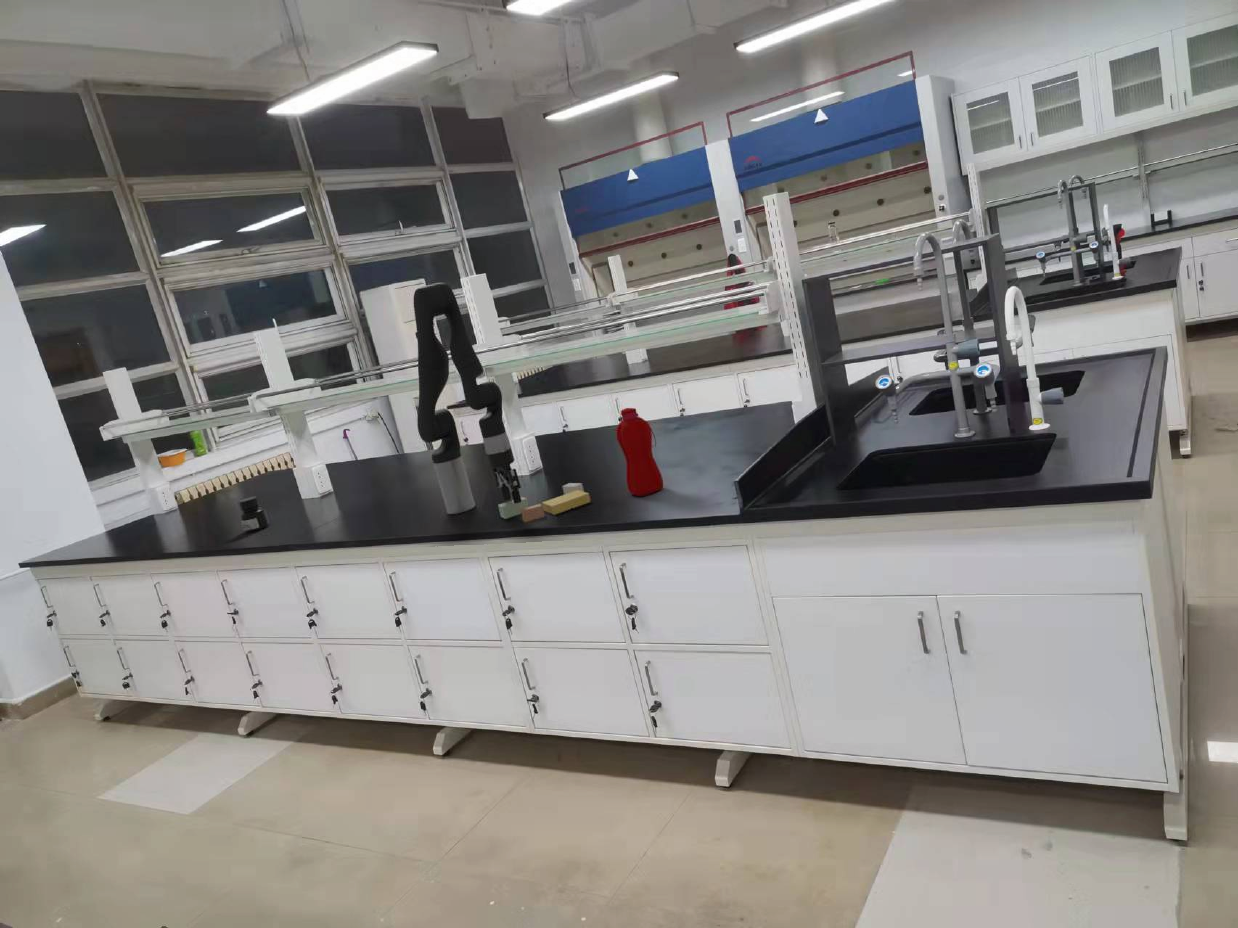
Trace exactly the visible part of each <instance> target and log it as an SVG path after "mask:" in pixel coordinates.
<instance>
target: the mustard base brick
mask: <svg viewBox="0 0 1238 928" xmlns="http://www.w3.org/2000/svg"><path fill="white" fill-rule="evenodd" d="M588 503H591V496H590V494H589V492H585V491H584V492H582V491H579V490H577V491H574V492H571V493H568V494H565V495H564V494H563V495H560V496H556V497H555V498H551V499H548V500H546V501H541V505H542V508H543V512H546V513H548V514H551V515H553V516H555V515H557V514H560V513H563V512H566V511H568V510H571V508H572V509H574V508H577V507H580V506H582V505H586V504H588Z"/></svg>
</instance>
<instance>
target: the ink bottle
mask: <svg viewBox="0 0 1238 928" xmlns="http://www.w3.org/2000/svg"><path fill="white" fill-rule="evenodd" d="M238 506H239V508H240V511H241V515H240V521H241V524H242V527H243V530H244V532H245V533H247V532H248V533H254V531H255V532H258V531H261V530H263V529H262V528H264V529H266V528H268V527H269V526H270V523H269V522H270V521H269V519H268V516H267V512H266V510H265V508H263V507H261V504H260V502H259V498H258V496H257V495H256V496H250V497H246V498H242V499H241V500H239V501H238ZM268 525H269V526H268ZM267 526H268V527H267ZM265 527H266V528H265ZM257 530H258V531H257Z"/></svg>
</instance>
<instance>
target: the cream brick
mask: <svg viewBox="0 0 1238 928" xmlns="http://www.w3.org/2000/svg"><path fill="white" fill-rule="evenodd" d="M562 490H563V495H565V494H568V493H571V492H574V491H577V490H579V491H582V492H585V490H584V487H583V483H581V482H580V483H579V482H576V483H575V482H574V483H573V482H568V483H567V484H564V485H562Z"/></svg>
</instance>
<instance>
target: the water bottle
mask: <svg viewBox="0 0 1238 928" xmlns="http://www.w3.org/2000/svg"><path fill="white" fill-rule="evenodd" d="M637 412H638V411H637V409H636V408H635V407H634V408H633V407H627V408H626V407H625V408H623V409H621V410H620V415H619V416H621V418H622V420H621V421H620V422H619V423H618V425H617V426H616V428H615V430H616V433H615V434H616V440H617V443H618V445H619V447H620V450H621V451H622V453H623V456H624V459H625V461H626V466H625V467H626V485H627V489H628V491H629V493H630V495H633V496H637V497H645V496H649V495H651V494H653V493H657V492H659V491H661V490H662V489H663V488H664V481H663V480H664V479H663V475H662V473H661V471H660V469H659V466H658V465H657V462H656V460H655V458H654V455H653V450H652V449H653V448H655V447H656V446H657V439H656V437H655V434H654V432H653V430H652V428H651V426H650V424H649V423H648V421H646V420H645V419H644V418H642V417H641V416H639V413H637ZM653 438H654V442H655V443H654V446H653V441H652V439H653Z"/></svg>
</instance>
